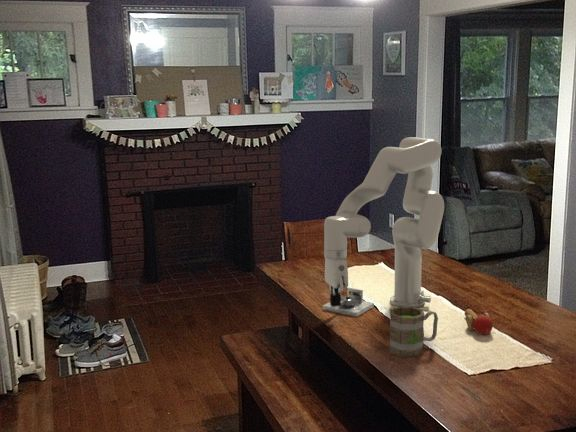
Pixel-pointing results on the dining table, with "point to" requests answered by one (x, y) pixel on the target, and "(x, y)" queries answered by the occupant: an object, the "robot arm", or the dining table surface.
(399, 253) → the robot arm
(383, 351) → the dining table surface
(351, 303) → the crank
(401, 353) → the mug
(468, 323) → the kendama
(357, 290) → the stand
